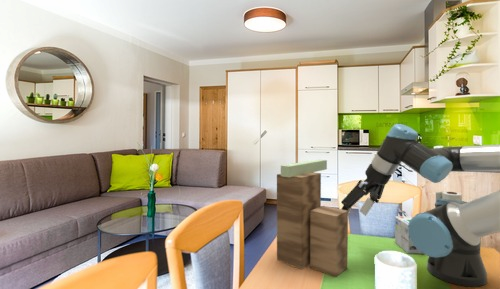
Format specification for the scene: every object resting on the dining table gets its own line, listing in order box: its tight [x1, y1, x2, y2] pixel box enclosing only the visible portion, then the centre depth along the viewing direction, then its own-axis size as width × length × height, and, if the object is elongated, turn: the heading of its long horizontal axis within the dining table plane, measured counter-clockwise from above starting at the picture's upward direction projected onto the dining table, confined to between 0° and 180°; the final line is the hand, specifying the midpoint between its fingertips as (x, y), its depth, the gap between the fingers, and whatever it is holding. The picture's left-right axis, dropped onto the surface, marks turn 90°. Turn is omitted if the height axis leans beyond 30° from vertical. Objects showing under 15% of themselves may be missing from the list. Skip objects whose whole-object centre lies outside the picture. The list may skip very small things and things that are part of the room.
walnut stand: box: [276, 172, 349, 278], centre depth 97 cm, size 12×20×30 cm, turn 46°
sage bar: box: [280, 159, 328, 177], centre depth 103 cm, size 24×4×4 cm, turn 136°
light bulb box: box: [394, 215, 425, 255], centre depth 110 cm, size 11×7×11 cm, turn 179°
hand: (351, 216), depth 104 cm, fingers open, 13 cm apart
